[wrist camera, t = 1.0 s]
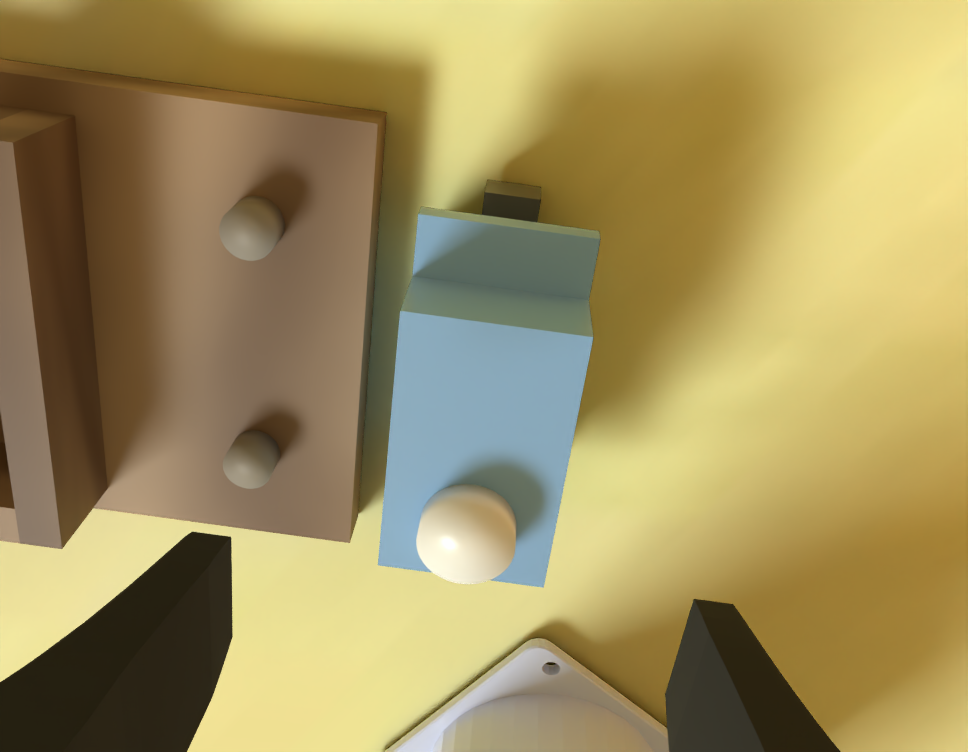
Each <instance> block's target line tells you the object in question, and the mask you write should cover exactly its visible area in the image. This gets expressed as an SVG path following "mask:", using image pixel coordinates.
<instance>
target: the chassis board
mask: <svg viewBox="0 0 968 752" xmlns="http://www.w3.org/2000/svg"><path fill="white" fill-rule="evenodd" d="M386 115H387V112H380V111H373V110H366V109H358V108H351V107H344V106H337V105H329V104H322V103H315V102H308V101H301V100H293V99H286V98H279V97H272V96H264V95H257V94H250V93H243V92H235V91H228V90H221V89H214V88H207V87H199V86H192V85H185V84H178V83H170V82H163V81H156V80H149V79H142V78H134V77H127V76H120V75H113V74H105V73H98V72H91V71H84V70H76V69H69V68H62V67H55V66H48V65H40V64H33V63H26V62H19V61H11V60H4V59H0V541H7V542H14V543H21V544H29V545H36V546H44V547H51V548H58V549H62V548H63V547H64V546H65V544H66V543H67V542H68V540H69V539H70V538H71V536H72V535H73V534H74V532H75V531H76V530H77V529H78V527H79V526H80V525H81V523H82V522H83V521H84V519H85V518H86V517H87V515H88V514H89V513H90V511H91V510H92V509H93V508H96V509H104V510H111V511H118V512H126V513H133V514H141V515H148V516H155V517H163V518H170V519H177V520H185V521H192V522H199V523H207V524H214V525H221V526H229V527H236V528H244V529H251V530H258V531H266V532H273V533H280V534H288V535H295V536H302V537H310V538H317V539H325V540H332V541H339V542H347V543H350V540H351V537H352V534H353V530H354V527H355V524H356V521H357V517H358V508H359V494H360V480H361V466H362V452H363V438H364V424H365V410H366V396H367V382H368V368H369V354H370V340H371V326H372V312H373V298H374V284H375V270H376V256H377V242H378V228H379V213H380V199H381V185H382V171H383V157H384V143H385V129H386Z"/></svg>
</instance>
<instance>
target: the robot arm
mask: <svg viewBox="0 0 968 752" xmlns="http://www.w3.org/2000/svg"><path fill="white" fill-rule="evenodd" d="M231 639H232V564H231V537H227V536H220V535H213V534H205V533H198V532H191V533H190V534H188V535H187V536H185V537H184V538H183V539H182V540H181V541H180V542H178V543H177V544H176V545H175V546H174V547H173V548H172V549H171V550H169V551H168V552H167V553H166V554H165V555H164V556H163V557H162V558H160V559H159V560H158V561H157V562H156V563H155V564H154V565H152V566H151V567H150V568H149V569H148V570H147V571H146V572H144V573H143V574H142V575H141V576H140V577H139V578H137V579H136V580H135V581H134V582H133V583H132V584H131V585H129V586H128V587H127V588H126V589H125V590H123V591H122V592H121V593H120V594H119V595H117V596H116V597H115V598H114V599H112V600H111V601H110V602H109V603H108V604H106V605H105V606H104V607H103V608H101V609H100V610H99V611H98V612H97V613H95V614H94V615H93V616H92V617H90V618H89V619H88V620H87V621H85V622H84V623H83V624H82V625H80V626H79V627H77V628H76V629H75V630H73V631H72V632H71V633H69V634H68V635H67V636H65V637H64V638H63V639H61V640H60V641H59V642H57V643H56V644H55V645H53V646H52V647H51V648H49V649H48V650H47V651H45V652H44V653H43V654H41V655H40V656H38V657H37V658H36V659H34V660H33V661H31V662H30V663H28V664H27V665H25V666H24V667H23V668H21V669H20V670H18V671H17V672H15V673H14V674H12V675H11V676H9V677H8V678H6V679H5V680H3V681H1V682H0V752H187V750H188V748H189V746H190V744H191V742H192V740H193V737H194V735H195V733H196V731H197V729H198V727H199V725H200V722H201V720H202V718H203V716H204V714H205V712H206V710H207V707H208V705H209V703H210V701H211V699H212V696H213V693H214V691H215V688H216V685H217V682H218V679H219V676H220V673H221V670H222V667H223V664H224V661H225V658H226V655H227V652H228V649H229V645H230V642H231ZM548 662H554V663H557V664H555V665H547V664H545V663H548ZM665 697H666V715H667V728H666V727H665V726H663V725H662V724H661V723H659V722H658V721H657V720H655V719H654V718H653V717H651V716H650V715H649V714H647V713H646V712H645V711H643V710H642V709H640V708H639V707H638V706H636V705H635V704H634V703H632V702H631V701H630V700H628V699H627V698H626V697H624V696H623V695H622V694H620V693H619V692H618V691H616V690H615V689H614V688H612V687H611V686H609V685H608V684H607V683H605V682H604V681H603V680H601V679H600V678H599V677H597V676H596V675H595V674H593V673H592V672H591V671H589V670H588V669H587V668H585V667H584V666H582V665H581V664H580V663H578V662H577V661H576V660H574V659H573V658H572V657H570V656H569V655H568V654H566V653H565V652H564V651H562V650H561V649H560V648H558V647H557V646H556V645H554V644H553V643H551V642H550V641H548V640H546V639H541V638H535V639H531V640H529V641H527V642H526V643H524V644H523V645H522V646H520V647H519V648H518V649H516V650H515V651H514V652H513V653H511V654H510V655H509V656H507V657H506V658H505V659H503V660H502V661H501V662H500V663H498V664H497V665H496V666H494V667H493V668H492V669H491V670H489V671H488V672H487V673H485V674H484V675H483V676H481V677H480V678H479V679H478V680H476V681H475V682H474V683H472V684H471V685H470V686H468V687H467V688H466V689H465V690H463V691H462V692H461V693H459V694H458V695H457V696H456V697H454V698H453V699H452V700H450V701H449V702H448V703H446V704H445V705H444V706H443V707H441V708H440V709H439V710H437V711H436V712H435V713H434V714H432V715H431V716H430V717H428V718H427V719H426V720H424V721H423V722H422V723H421V724H419V725H418V726H417V727H415V728H414V729H413V730H411V731H410V732H409V733H408V734H406V735H405V736H404V737H402V738H401V739H400V740H399V741H397V742H396V743H395V744H393V745H392V746H391V747H389V748H388V749H387V750H386V751H384V752H840V750H839V749H838V748H837V747H836V746H835V744H834V743H833V742H832V741H831V740H830V738H829V737H828V736H827V735H826V733H825V732H824V731H823V729H822V728H821V727H820V726H819V724H818V723H817V722H816V720H815V719H814V718H813V716H812V715H811V714H810V712H809V711H808V710H807V708H806V707H805V706H804V704H803V703H802V702H801V700H800V699H799V698H798V696H797V695H796V694H795V692H794V691H793V690H792V688H791V687H790V685H789V684H788V683H787V681H786V680H785V678H784V677H783V676H782V674H781V673H780V671H779V670H778V668H777V667H776V666H775V664H774V663H773V661H772V660H771V658H770V657H769V656H768V654H767V653H766V651H765V650H764V648H763V647H762V645H761V644H760V642H759V641H758V640H757V638H756V637H755V635H754V634H753V632H752V631H751V629H750V628H749V626H748V625H747V623H746V622H745V620H744V619H743V618H742V616H741V615H740V613H739V612H738V610H737V609H736V608H735V606H734V605H733V604H727V603H720V602H712V601H705V600H697V599H694V600H693V604H692V607H691V610H690V614H689V617H688V620H687V624H686V627H685V630H684V634H683V637H682V640H681V644H680V647H679V650H678V654H677V657H676V660H675V664H674V667H673V670H672V674H671V677H670V680H669V684H668V687H667V690H666V694H665Z"/></svg>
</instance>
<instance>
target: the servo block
mask: <svg viewBox="0 0 968 752" xmlns="http://www.w3.org/2000/svg"><path fill="white" fill-rule="evenodd" d="M540 201H541V187H537V186H530V185H522V184H515V183H508V182H500V181H493V180H487V184H486V189H485V195H484V203H483V211H482V215H479V214H472V213H464V212H457V211H450V210H443V209H435V208H428V207H421V209H420V211H419V213H418V222H417V233H416V244H415V255H414V266H413V276H412V279H411V282H410V284H409V287H408V290H407V293H406V296H405V298H404V301H403V304H402V307H401V310H400V317H399V329H398V340H397V352H396V363H395V375H394V386H393V398H392V409H391V421H390V432H389V444H388V455H387V467H386V478H385V490H384V501H383V513H382V524H381V536H380V547H379V558H378V565H380V566H388V567H395V568H403V569H410V570H417V571H425V572H432V573H434V574H436V575H437V576H439V577H441V578H443V579H445V580H448V581H451V582H454V583H460V584H477V583H482V582H486V581H489V580H492V581H499V582H506V583H514V584H521V585H529V586H536V587H543V588H544V583H545V578H546V573H547V568H548V563H549V558H550V553H551V548H552V543H553V538H554V533H555V528H556V523H557V518H558V513H559V508H560V503H561V498H562V493H563V487H564V482H565V477H566V472H567V467H568V462H569V457H570V452H571V447H572V442H573V437H574V432H575V427H576V422H577V417H578V412H579V407H580V402H581V397H582V392H583V387H584V382H585V377H586V372H587V367H588V362H589V357H590V352H591V347H592V342H593V330H592V322H591V313H590V305H589V297H590V291H591V286H592V281H593V276H594V271H595V265H596V260H597V255H598V250H599V245H600V233H599V231H595V230H588V229H581V228H574V227H566V226H559V225H552V224H544V223H537V220H538V214H539V207H540Z"/></svg>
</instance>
